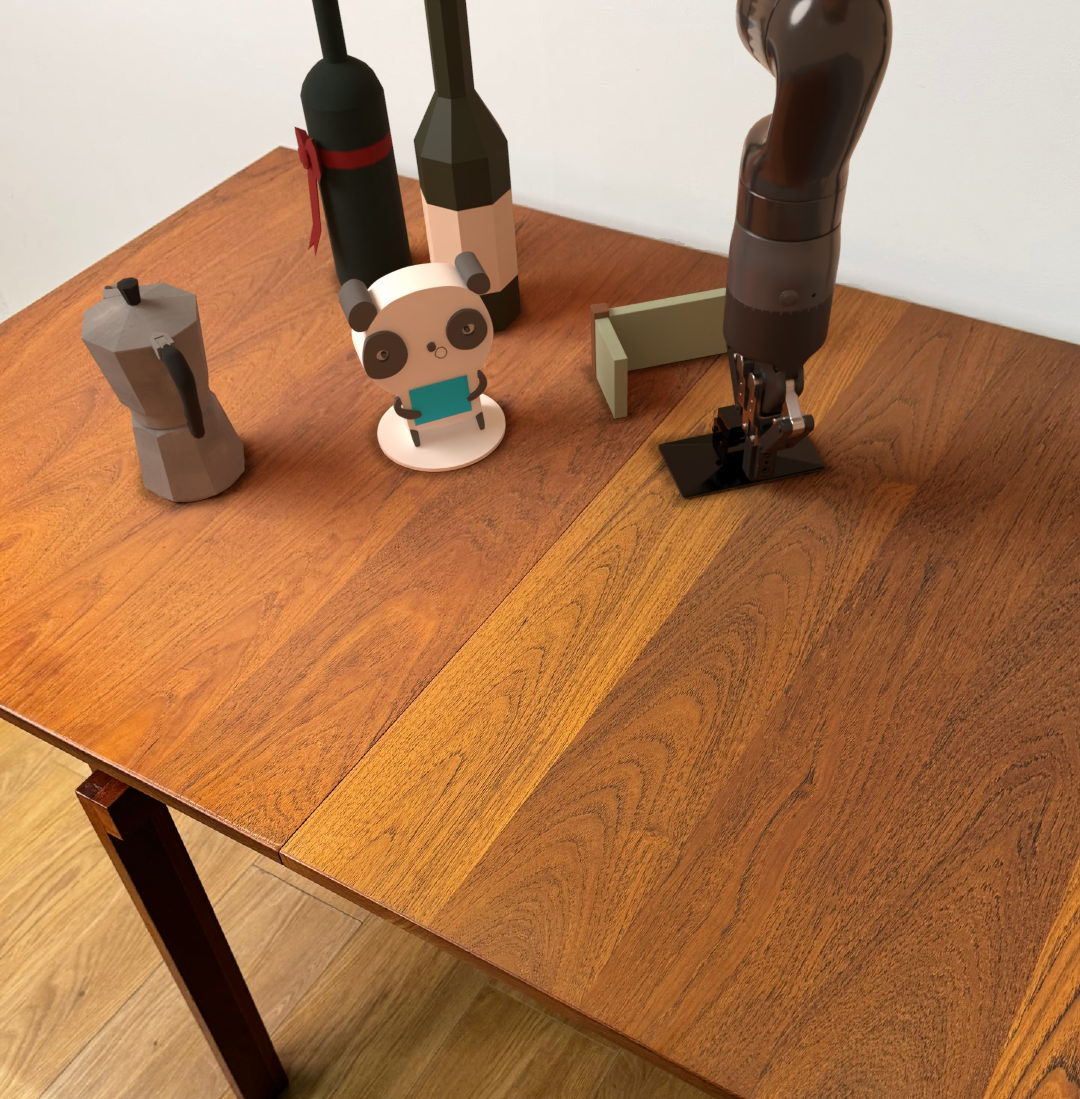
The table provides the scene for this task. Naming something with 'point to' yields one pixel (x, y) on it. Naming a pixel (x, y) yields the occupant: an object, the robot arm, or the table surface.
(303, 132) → the wine bottle
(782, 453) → the build plate
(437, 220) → the wine bottle
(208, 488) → the coffeepot
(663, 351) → the corner rails
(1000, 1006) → the table surface
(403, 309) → the panda figurine
